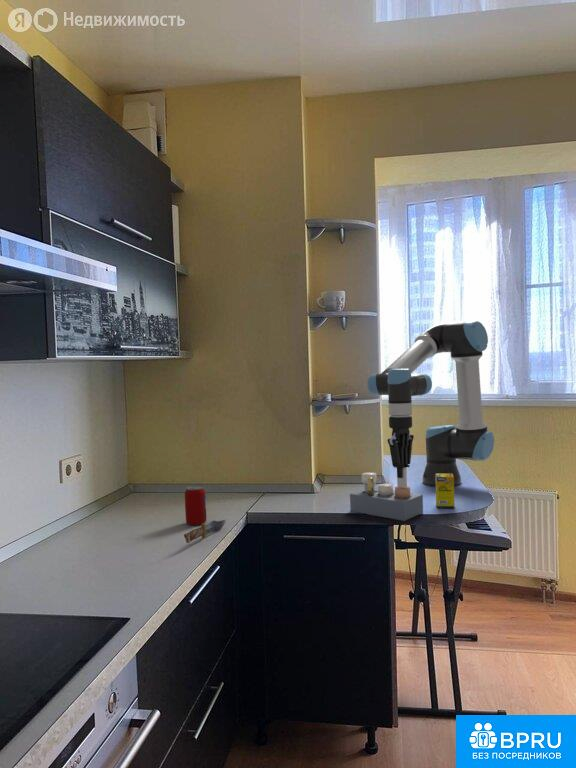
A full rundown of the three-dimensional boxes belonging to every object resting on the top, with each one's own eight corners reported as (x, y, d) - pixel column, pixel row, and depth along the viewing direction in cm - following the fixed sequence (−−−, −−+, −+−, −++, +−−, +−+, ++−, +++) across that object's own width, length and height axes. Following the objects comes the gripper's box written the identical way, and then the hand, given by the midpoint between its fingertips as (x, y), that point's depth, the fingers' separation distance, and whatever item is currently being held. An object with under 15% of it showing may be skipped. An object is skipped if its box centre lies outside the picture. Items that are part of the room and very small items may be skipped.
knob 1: (367, 495, 204) (367, 471, 203) (379, 496, 200) (379, 473, 200) (359, 498, 200) (358, 474, 200) (371, 500, 197) (371, 476, 196)
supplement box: (454, 508, 197) (454, 476, 196) (436, 508, 198) (435, 476, 197) (453, 504, 202) (452, 473, 202) (435, 504, 204) (435, 473, 203)
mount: (370, 503, 208) (369, 487, 207) (423, 512, 194) (422, 494, 193) (350, 511, 199) (349, 493, 198) (404, 520, 185) (404, 502, 184)
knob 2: (383, 506, 200) (383, 483, 199) (396, 508, 196) (395, 484, 196) (375, 509, 196) (375, 485, 196) (388, 512, 193) (387, 487, 192)
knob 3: (400, 509, 195) (399, 485, 195) (413, 511, 192) (413, 487, 192) (392, 512, 192) (391, 488, 191) (405, 515, 188) (405, 490, 188)
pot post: (370, 494, 196) (369, 476, 196) (375, 495, 195) (374, 477, 195) (366, 495, 195) (366, 477, 195) (371, 496, 194) (371, 478, 193)
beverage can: (211, 521, 192) (209, 486, 192) (197, 527, 186) (195, 490, 186) (195, 519, 196) (194, 484, 195) (181, 524, 190) (179, 488, 190)
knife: (225, 525, 187) (224, 510, 187) (229, 526, 186) (228, 510, 186) (183, 550, 164) (182, 533, 164) (187, 551, 164) (186, 533, 163)
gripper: (400, 413, 198) (402, 482, 199) (379, 417, 188) (381, 489, 189) (420, 414, 193) (422, 484, 194) (399, 418, 183) (401, 492, 184)
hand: (402, 487), depth 191 cm, fingers closed
